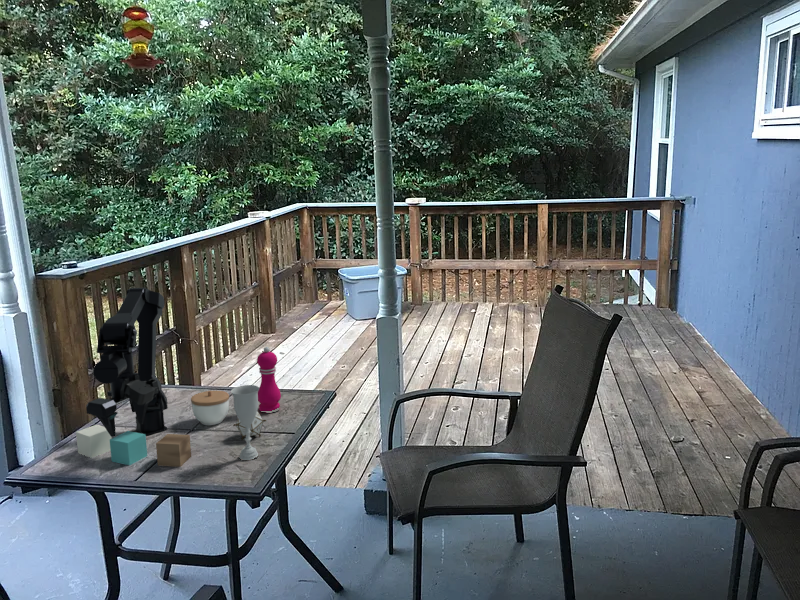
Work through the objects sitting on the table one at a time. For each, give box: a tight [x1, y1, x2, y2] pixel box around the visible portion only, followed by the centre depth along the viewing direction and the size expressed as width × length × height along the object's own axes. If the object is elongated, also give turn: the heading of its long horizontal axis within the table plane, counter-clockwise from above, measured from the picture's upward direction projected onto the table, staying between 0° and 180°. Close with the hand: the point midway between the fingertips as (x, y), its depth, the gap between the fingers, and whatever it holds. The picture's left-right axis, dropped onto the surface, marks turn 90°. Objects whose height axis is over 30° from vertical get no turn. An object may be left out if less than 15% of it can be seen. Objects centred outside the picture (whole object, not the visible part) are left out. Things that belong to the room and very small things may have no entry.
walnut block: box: [155, 433, 192, 468], centre depth 166 cm, size 6×6×6 cm
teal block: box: [110, 430, 148, 466], centre depth 168 cm, size 6×6×6 cm
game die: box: [232, 410, 267, 440], centre depth 181 cm, size 9×8×10 cm
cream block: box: [75, 424, 113, 459], centre depth 172 cm, size 6×6×6 cm
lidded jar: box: [190, 389, 230, 426], centre depth 192 cm, size 11×11×9 cm
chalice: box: [230, 384, 260, 460], centre depth 167 cm, size 7×7×18 cm
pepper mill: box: [256, 346, 282, 412], centre depth 200 cm, size 7×7×20 cm
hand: (127, 429), depth 167 cm, fingers open, 9 cm apart
